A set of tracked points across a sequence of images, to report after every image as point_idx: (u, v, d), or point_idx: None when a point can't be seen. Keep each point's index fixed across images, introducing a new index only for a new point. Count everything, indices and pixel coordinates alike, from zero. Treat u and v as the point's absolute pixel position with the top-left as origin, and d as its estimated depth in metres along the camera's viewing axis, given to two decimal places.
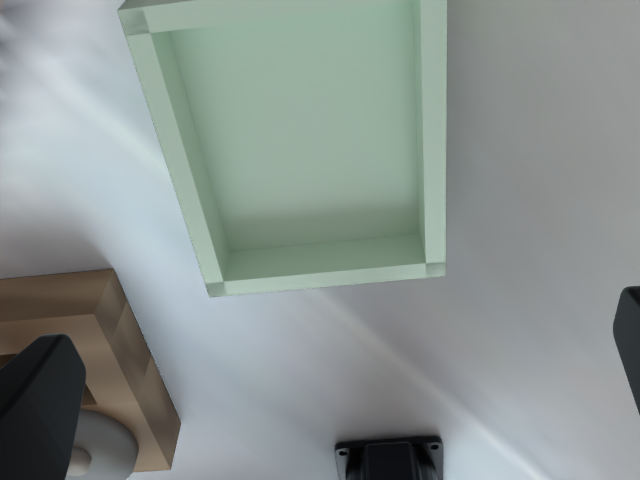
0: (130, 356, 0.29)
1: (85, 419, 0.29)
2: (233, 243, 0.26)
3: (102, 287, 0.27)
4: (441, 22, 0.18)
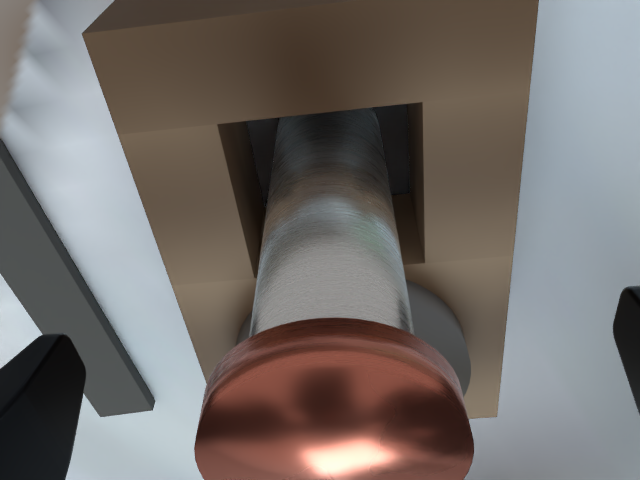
0: None
1: None
2: None
3: None
4: None
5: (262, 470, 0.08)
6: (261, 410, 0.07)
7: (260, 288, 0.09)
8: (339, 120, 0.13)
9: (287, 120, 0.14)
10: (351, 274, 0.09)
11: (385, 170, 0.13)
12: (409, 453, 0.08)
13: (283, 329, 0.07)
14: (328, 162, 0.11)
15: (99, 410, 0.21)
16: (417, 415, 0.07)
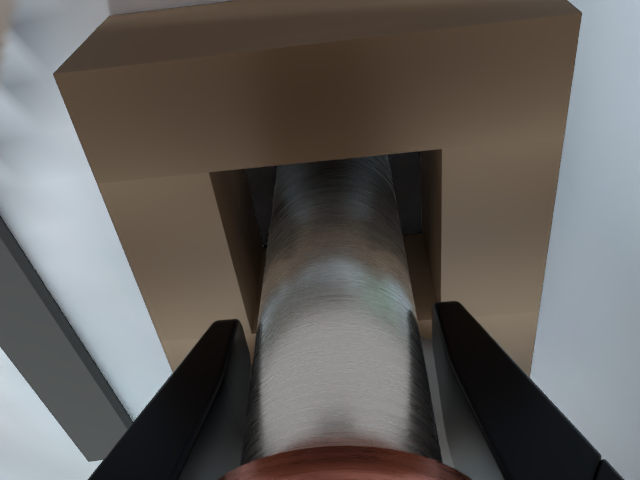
0: None
1: None
2: None
3: None
4: None
5: None
6: None
7: (257, 377, 0.08)
8: (346, 162, 0.11)
9: None
10: (363, 368, 0.07)
11: (398, 220, 0.11)
12: None
13: (283, 459, 0.06)
14: (335, 217, 0.10)
15: (87, 454, 0.20)
16: None
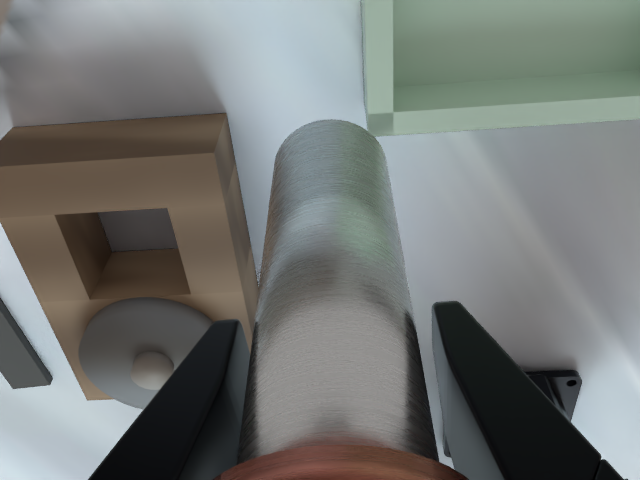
0: (237, 232, 0.22)
1: (175, 312, 0.23)
2: (396, 74, 0.20)
3: (217, 129, 0.21)
4: None
5: None
6: None
7: (253, 376, 0.08)
8: (343, 162, 0.11)
9: (285, 159, 0.12)
10: (359, 368, 0.07)
11: (395, 219, 0.11)
12: None
13: (279, 459, 0.06)
14: (332, 216, 0.10)
15: (12, 384, 0.30)
16: None
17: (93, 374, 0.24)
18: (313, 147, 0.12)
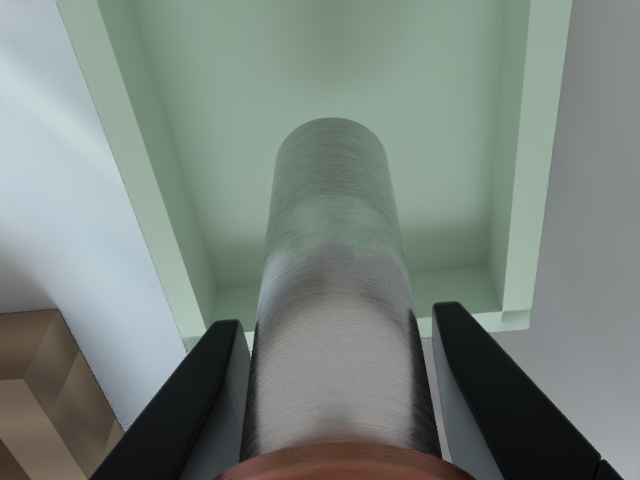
0: (82, 427, 0.21)
1: None
2: (223, 277, 0.18)
3: (40, 337, 0.19)
4: None
5: None
6: None
7: (255, 374, 0.08)
8: (345, 160, 0.11)
9: (286, 157, 0.12)
10: (362, 365, 0.07)
11: (396, 217, 0.11)
12: None
13: (282, 456, 0.06)
14: (334, 214, 0.10)
15: None
16: None
17: None
18: (314, 145, 0.12)
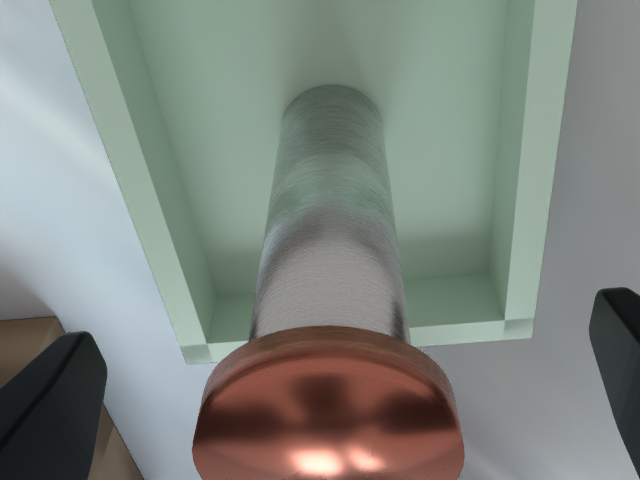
0: None
1: None
2: (222, 285, 0.18)
3: (37, 345, 0.19)
4: None
5: (258, 471, 0.08)
6: (256, 415, 0.07)
7: (259, 291, 0.10)
8: (342, 120, 0.13)
9: (290, 120, 0.14)
10: (348, 280, 0.09)
11: (386, 171, 0.13)
12: (401, 457, 0.08)
13: (279, 336, 0.07)
14: (329, 165, 0.11)
15: None
16: (408, 422, 0.07)
17: None
18: (316, 108, 0.13)
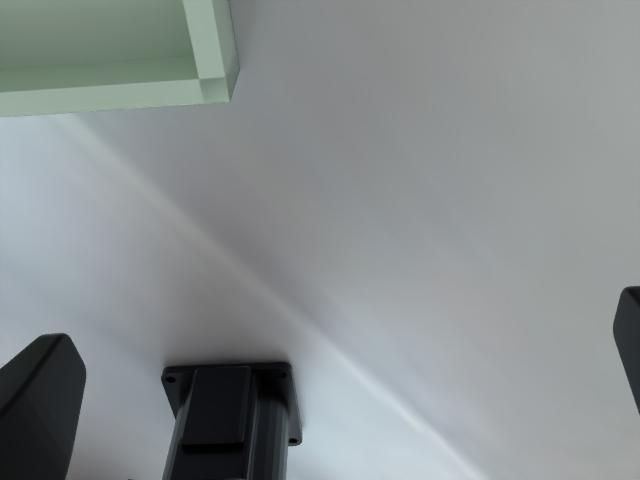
0: None
1: None
2: None
3: None
4: None
5: None
6: None
7: None
8: None
9: None
10: None
11: None
12: None
13: None
14: None
15: None
16: None
17: None
18: None
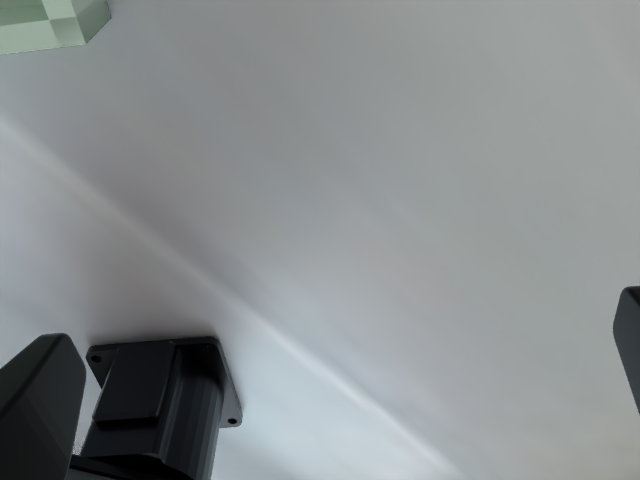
0: None
1: None
2: None
3: None
4: None
5: None
6: None
7: None
8: None
9: None
10: None
11: None
12: None
13: None
14: None
15: None
16: None
17: None
18: None
